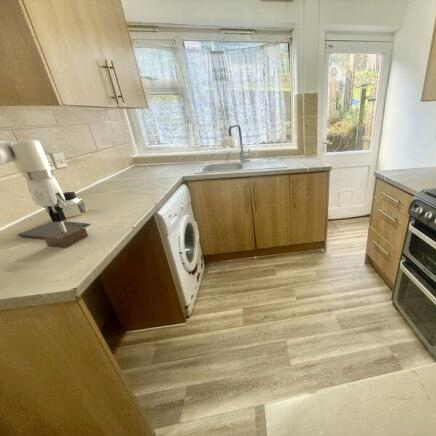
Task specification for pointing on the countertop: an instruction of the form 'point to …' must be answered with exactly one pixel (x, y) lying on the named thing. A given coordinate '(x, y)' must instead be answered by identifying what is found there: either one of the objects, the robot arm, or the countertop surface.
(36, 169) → the robot arm
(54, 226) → the plate
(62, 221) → the stylus
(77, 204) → the medicine bottle
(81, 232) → the pen stand
